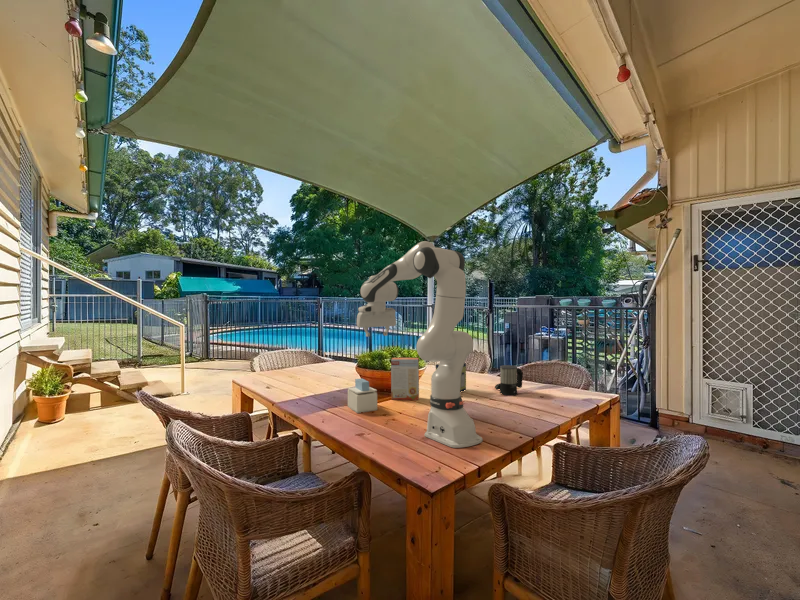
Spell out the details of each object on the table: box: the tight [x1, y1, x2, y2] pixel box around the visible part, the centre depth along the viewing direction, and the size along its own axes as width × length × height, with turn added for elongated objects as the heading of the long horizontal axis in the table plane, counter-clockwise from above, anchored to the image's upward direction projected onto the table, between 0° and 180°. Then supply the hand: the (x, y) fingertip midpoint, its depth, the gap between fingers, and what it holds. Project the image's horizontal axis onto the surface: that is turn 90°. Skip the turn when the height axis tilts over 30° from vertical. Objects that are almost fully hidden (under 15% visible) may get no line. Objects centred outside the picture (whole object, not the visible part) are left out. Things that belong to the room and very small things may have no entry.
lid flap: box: [347, 386, 378, 394], centre depth 178 cm, size 12×10×1 cm
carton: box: [347, 389, 378, 414], centre depth 178 cm, size 12×10×8 cm
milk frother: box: [494, 364, 524, 396], centre depth 208 cm, size 14×16×15 cm
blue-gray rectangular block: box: [354, 378, 370, 391], centre depth 178 cm, size 10×4×4 cm, turn 24°
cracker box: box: [390, 357, 420, 401], centre depth 195 cm, size 14×6×21 cm, turn 84°
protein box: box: [435, 362, 467, 393], centre depth 208 cm, size 10×16×16 cm
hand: (376, 336), depth 187 cm, fingers open, 8 cm apart
